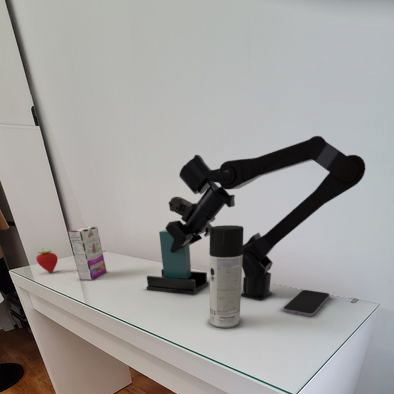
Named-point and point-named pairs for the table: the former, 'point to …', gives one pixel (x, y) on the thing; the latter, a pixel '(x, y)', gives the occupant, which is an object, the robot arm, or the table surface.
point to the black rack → (178, 283)
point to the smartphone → (306, 303)
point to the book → (174, 258)
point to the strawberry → (47, 260)
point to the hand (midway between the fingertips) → (174, 250)
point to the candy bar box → (88, 252)
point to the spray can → (225, 275)
